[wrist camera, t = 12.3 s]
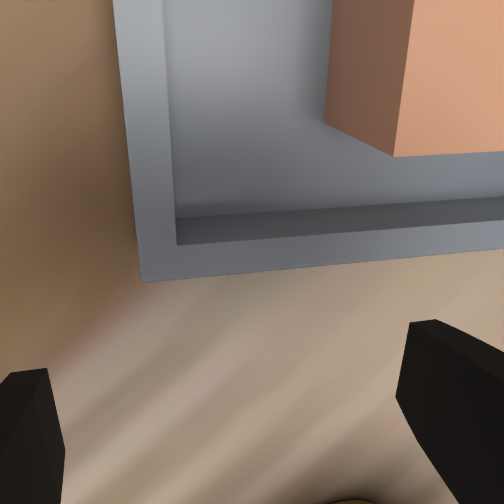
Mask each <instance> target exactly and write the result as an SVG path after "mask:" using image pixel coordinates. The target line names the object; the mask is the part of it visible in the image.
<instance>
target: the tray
mask: <svg viewBox="0 0 504 504" xmlns="http://www.w3.org/2000/svg"><path fill="white" fill-rule="evenodd" d="M113 9H114V19H115V28H116V38H117V48H118V58H119V68H120V78H121V88H122V97H123V107H124V117H125V127H126V137H127V147H128V157H129V166H130V176H131V186H132V196H133V206H134V216H135V226H136V235H137V245H138V255H139V265H140V275H141V283H144V282H155V281H165V280H176V279H187V278H197V277H208V276H219V275H229V274H240V273H251V272H261V271H272V270H283V269H293V268H304V267H315V266H325V265H336V264H347V263H357V262H368V261H379V260H389V259H400V258H411V257H421V256H432V255H443V254H453V253H464V252H475V251H485V250H496V249H504V151H492V152H475V153H458V154H440V155H423V156H406V157H392V156H390V155H388V154H386V153H384V152H382V151H380V150H378V149H376V148H374V147H372V146H370V145H368V144H366V143H364V142H362V141H360V140H358V139H356V138H354V137H352V136H350V135H348V134H346V133H344V132H342V131H340V130H338V129H336V128H334V127H332V126H330V125H328V124H326V123H325V110H326V96H327V81H328V67H329V52H330V38H331V23H332V9H333V0H113Z"/></svg>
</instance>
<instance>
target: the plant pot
mask: <svg viewBox="0 0 504 504" xmlns="http://www.w3.org/2000/svg"><path fill="white" fill-rule="evenodd" d="M333 504H374V503H372V502H368V501H362V500H349V501H342V502H337V503H333Z"/></svg>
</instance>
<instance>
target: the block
mask: <svg viewBox="0 0 504 504" xmlns="http://www.w3.org/2000/svg"><path fill="white" fill-rule="evenodd" d="M325 123H326V124H328V125H330V126H332V127H334V128H336V129H338V130H340V131H342V132H344V133H346V134H348V135H350V136H352V137H354V138H356V139H358V140H360V141H362V142H364V143H366V144H368V145H370V146H372V147H374V148H376V149H378V150H380V151H382V152H384V153H386V154H388V155H390V156H392V157H406V156H423V155H440V154H458V153H475V152H492V151H504V0H333V9H332V23H331V38H330V52H329V67H328V81H327V96H326V110H325Z"/></svg>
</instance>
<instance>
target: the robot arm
mask: <svg viewBox="0 0 504 504" xmlns="http://www.w3.org/2000/svg"><path fill="white" fill-rule="evenodd" d="M395 397H396V399H397V402H398V404H399V406H400V408H401V410H402V412H403V414H404V416H405V418H406V420H407V422H408V424H409V426H410V428H411V430H412V432H413V434H414V436H415V438H416V440H417V441H418V443H419V444H420V446H421V448H422V449H423V451H424V452H425V454H426V455H427V457H428V458H429V460H430V461H431V463H432V464H433V466H434V467H435V469H436V470H437V472H438V473H439V475H440V476H441V478H442V479H443V481H444V482H445V484H446V485H447V487H448V488H449V490H450V491H451V493H452V494H453V495H454V497H455V498H456V500H457V501H458V503H459V504H504V352H502V351H500V350H498V349H497V348H495V347H493V346H491V345H489V344H487V343H485V342H483V341H481V340H479V339H477V338H475V337H473V336H471V335H469V334H467V333H465V332H463V331H461V330H459V329H457V328H455V327H452V326H450V325H448V324H446V323H443V322H441V321H439V320H436V319H434V320H426V321H418V322H410V324H409V329H408V334H407V339H406V344H405V350H404V355H403V360H402V365H401V370H400V376H399V381H398V386H397V391H396V396H395ZM64 460H65V446H64V442H63V437H62V433H61V428H60V424H59V419H58V415H57V410H56V406H55V401H54V397H53V392H52V388H51V383H50V379H49V374H48V370H47V368H43V369H35V370H27V371H19V372H12V373H10V374H9V375H8V376H7V377H6V378H5V379H4V380H3V382H2V383H1V384H0V504H60V503H61V494H62V484H63V472H64Z"/></svg>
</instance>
